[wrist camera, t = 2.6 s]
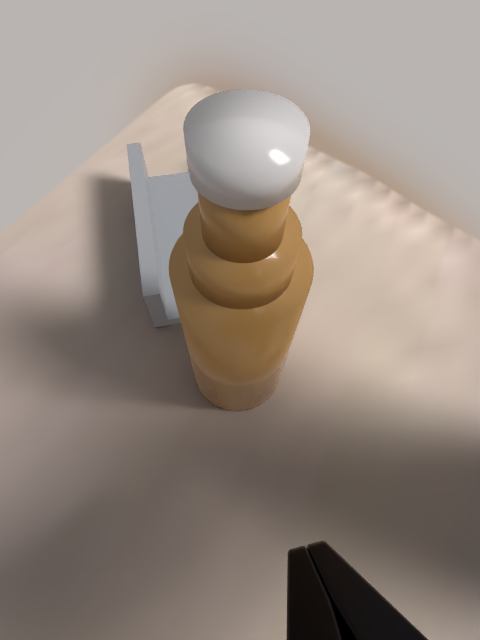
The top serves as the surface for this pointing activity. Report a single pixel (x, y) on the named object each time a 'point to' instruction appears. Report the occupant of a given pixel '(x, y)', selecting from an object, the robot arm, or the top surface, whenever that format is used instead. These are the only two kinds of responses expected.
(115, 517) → the top surface
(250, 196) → the amber bottle
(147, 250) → the grey cradle
